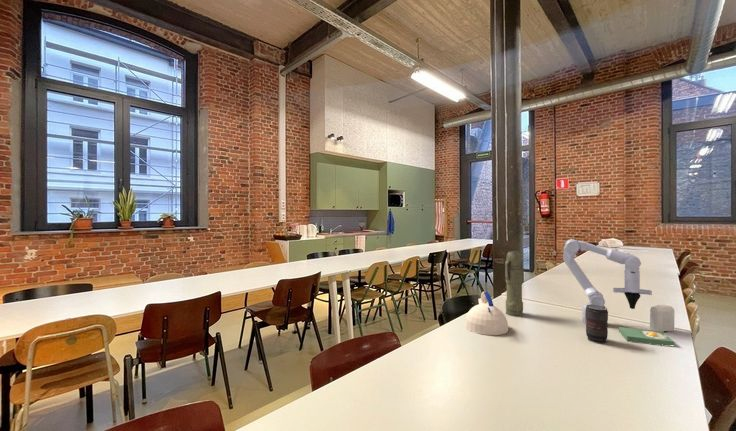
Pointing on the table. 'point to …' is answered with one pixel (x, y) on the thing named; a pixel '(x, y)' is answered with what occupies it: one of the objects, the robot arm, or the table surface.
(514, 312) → the thermos
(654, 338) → the mat
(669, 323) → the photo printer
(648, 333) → the ball
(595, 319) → the camera lens
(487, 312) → the kettle
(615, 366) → the table surface
